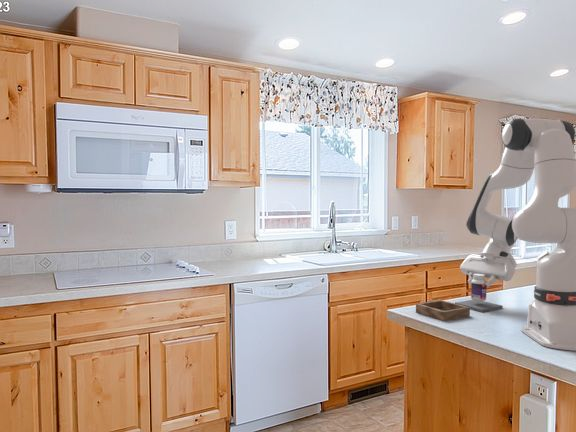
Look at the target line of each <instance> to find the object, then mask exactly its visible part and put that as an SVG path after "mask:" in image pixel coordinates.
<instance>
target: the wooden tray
mask: <svg viewBox="0 0 576 432" xmlns="http://www.w3.org/2000/svg"><path fill="white" fill-rule="evenodd" d="M470 311H471V309H470V307H466V306H462V305H458V304H455V302H450V301H446V300H443V299H437V300H432V301H426V302H420V303H415V313H418V314H421V315H423V316H424V315H425V316H427V317H431V318H434V319H437V320H439V321H450V320H455V319H461V318H465V317H470V316H471V315H470V314H471V312H470Z"/></svg>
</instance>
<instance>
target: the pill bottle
mask: <svg viewBox="0 0 576 432" xmlns="http://www.w3.org/2000/svg"><path fill="white" fill-rule="evenodd" d="M472 278H473V280H472V281H471V284H470V285H471V287H470V288H471V289H470V292H471V293H470V300H476V301H485V302H486V301H487V287H485V285H484V283H485V281H486V280H485V275H484V274H473V277H472Z"/></svg>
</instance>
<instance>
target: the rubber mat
mask: <svg viewBox="0 0 576 432" xmlns="http://www.w3.org/2000/svg"><path fill="white" fill-rule="evenodd" d="M454 304H458V305H462V306H466V307H470V311H476V312H479V313H485V312H486V313H487V312H489V311H496V310H500V309H503V305H501V304H497V303H493V302H489V301H486V300H485V301H476V300H472V299H470V300H469V299H468V300H463V301H457V302H454Z"/></svg>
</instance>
